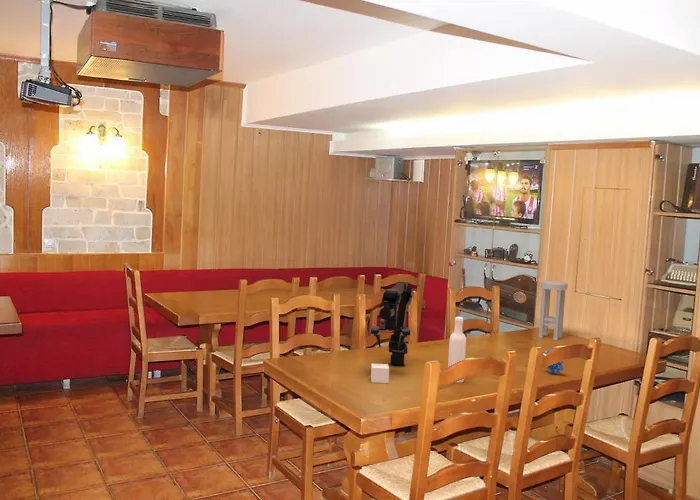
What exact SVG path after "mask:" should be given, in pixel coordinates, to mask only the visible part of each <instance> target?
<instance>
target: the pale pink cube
mask: <svg viewBox="0 0 700 500" xmlns="http://www.w3.org/2000/svg"><path fill="white" fill-rule="evenodd" d="M370 367H371V368H370V380H371V383H372V384H389V382H390V381H389V380H390V367H389V363H371V365H370Z"/></svg>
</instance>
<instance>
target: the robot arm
mask: <svg viewBox="0 0 700 500" xmlns="http://www.w3.org/2000/svg"><path fill="white" fill-rule="evenodd" d="M413 298H414V289H413V287H412V286H411V285H410V284H408V282H407V281H397V282H396V284H395V285H394V286H393V287H392V288H388V289H386V290H384V292H383V294H382V298H381V302H380V305H382V306H383V307H382V308H380V310H379V314H378V315H379V317H380V323H379V324H380V326H383V327H382V328H380V327H379V326H378V325H371V326H370V329H369V331H370V334H371V335H372V336H373V337H375V338H376V341H377V345H378V348H379V349H380V348H381V335H380V333H392V334H391V335H390V339H389V340H388V352H389V353H391V354H390V357H389V363H390V365H391V366H393V367H395V366H397V367H404V366H405V355H407V354H409V353H408V352H409V351H408V344H407V339H406V338H408V336H410V335H411V329H410V328H409V327H407V326H406V320H407V319H406V318H407V312H408V308H409V305H410V304H411V303H412V301H413ZM405 326H406V327H405Z"/></svg>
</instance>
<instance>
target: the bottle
mask: <svg viewBox="0 0 700 500" xmlns="http://www.w3.org/2000/svg"><path fill="white" fill-rule="evenodd" d="M454 318H455V319H454V331H453V332H452V333H451V335H450V337H449V343H448V345H449V346H448V360H447V368H448V367H449V366H451V365H453V364H455V363H457V362H459V361H462V360H464V359H465V360H466V351H467V349H466V348H467V338H466V335H465V333H464V332H463V326H464V325H463V324H464V317H463V316H456V317H454ZM464 381H465V378H464V379H462V380H459V381H457V382H455V383H457V384H458V383H459V384H460V383H464Z"/></svg>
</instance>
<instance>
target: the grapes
mask: <svg viewBox="0 0 700 500" xmlns="http://www.w3.org/2000/svg"><path fill="white" fill-rule="evenodd" d="M551 350H553V349H552V348H550V349H548V350H545V351H544V352H543V354H544V353H548V352H550V351H551ZM563 364H564V360H563V361H561V362H558V363H556V364H553V365H550V366H548V367H546V368H545V369H548V372H549V373H551V374H556V375H559V374H560V372H562V371H563V370H564V366H563Z"/></svg>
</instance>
